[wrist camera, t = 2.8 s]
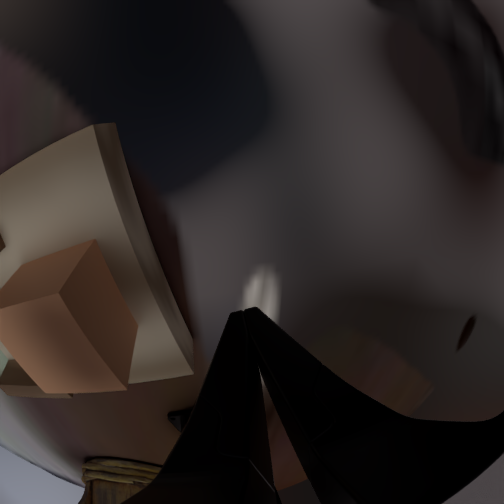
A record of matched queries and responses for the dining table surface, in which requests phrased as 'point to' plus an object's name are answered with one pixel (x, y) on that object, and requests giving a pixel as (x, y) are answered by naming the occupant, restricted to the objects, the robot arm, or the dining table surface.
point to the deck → (85, 229)
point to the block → (68, 322)
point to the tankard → (114, 480)
